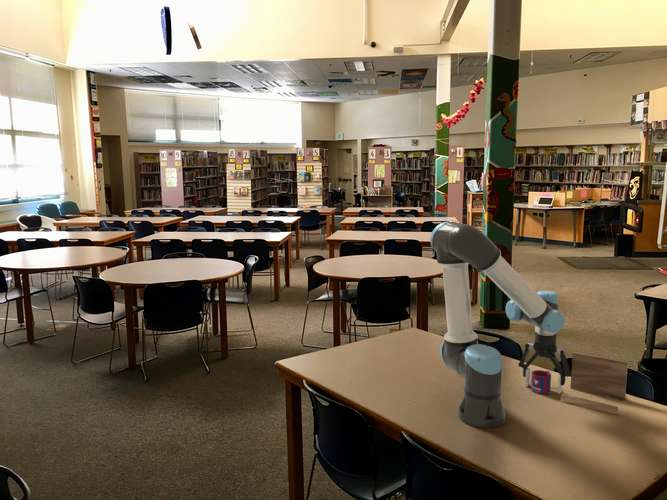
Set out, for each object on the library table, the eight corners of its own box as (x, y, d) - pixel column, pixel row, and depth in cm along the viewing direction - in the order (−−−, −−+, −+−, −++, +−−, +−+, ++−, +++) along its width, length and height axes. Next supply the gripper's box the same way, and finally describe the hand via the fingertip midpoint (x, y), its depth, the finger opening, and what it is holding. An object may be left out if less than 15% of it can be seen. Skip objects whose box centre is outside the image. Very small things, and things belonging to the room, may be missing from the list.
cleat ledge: (617, 414, 175) (617, 407, 174) (560, 401, 186) (561, 394, 185) (617, 413, 176) (618, 406, 175) (561, 400, 186) (561, 393, 186)
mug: (527, 390, 195) (528, 373, 194) (542, 383, 201) (542, 366, 200) (543, 396, 190) (544, 378, 189) (558, 389, 196) (559, 371, 195)
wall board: (624, 400, 186) (627, 362, 184) (570, 388, 197) (572, 352, 195) (625, 397, 188) (628, 360, 186) (572, 385, 199) (574, 350, 197)
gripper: (582, 335, 189) (579, 393, 192) (517, 325, 203) (515, 378, 206) (577, 341, 183) (574, 400, 186) (510, 329, 197) (508, 385, 200)
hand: (543, 389), depth 196 cm, fingers open, 11 cm apart
